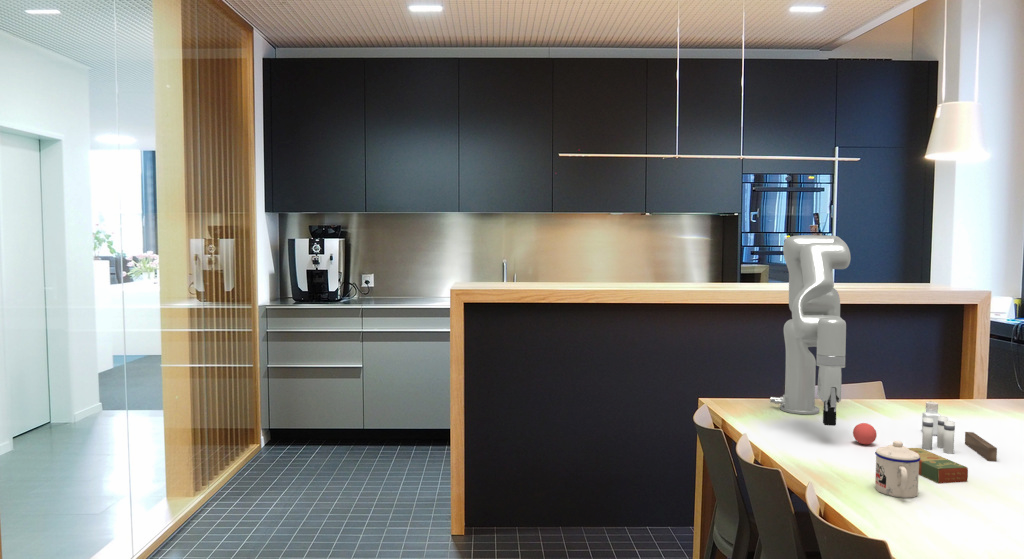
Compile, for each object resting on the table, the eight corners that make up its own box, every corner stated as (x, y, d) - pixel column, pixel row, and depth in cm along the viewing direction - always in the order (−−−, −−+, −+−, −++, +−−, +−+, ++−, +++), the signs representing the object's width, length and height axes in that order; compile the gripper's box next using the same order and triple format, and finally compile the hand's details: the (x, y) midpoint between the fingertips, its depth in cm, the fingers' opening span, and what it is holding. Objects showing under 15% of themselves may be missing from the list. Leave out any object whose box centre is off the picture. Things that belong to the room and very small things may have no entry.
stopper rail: (987, 460, 183) (988, 447, 183) (964, 443, 199) (965, 431, 199) (996, 461, 183) (997, 448, 183) (972, 444, 198) (973, 432, 198)
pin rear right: (944, 453, 190) (946, 422, 189) (941, 450, 192) (942, 420, 192) (955, 454, 189) (956, 423, 188) (951, 451, 191) (953, 421, 191)
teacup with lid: (870, 483, 166) (872, 434, 165) (913, 487, 163) (915, 438, 163) (881, 500, 154) (882, 449, 154) (927, 505, 152) (929, 452, 151)
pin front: (923, 449, 193) (924, 419, 193) (920, 446, 196) (921, 417, 195) (933, 450, 192) (934, 419, 192) (930, 447, 195) (931, 417, 194)
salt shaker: (940, 436, 207) (942, 404, 206) (926, 435, 207) (927, 404, 207) (935, 432, 210) (936, 401, 210) (921, 431, 211) (922, 401, 211)
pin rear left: (938, 448, 194) (939, 418, 194) (935, 445, 197) (936, 416, 196) (948, 448, 194) (949, 418, 193) (945, 446, 196) (946, 416, 196)
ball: (855, 446, 196) (855, 425, 196) (850, 440, 202) (851, 420, 201) (878, 448, 194) (879, 426, 194) (873, 442, 200) (873, 421, 200)
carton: (919, 462, 183) (920, 446, 183) (968, 483, 167) (969, 466, 167) (891, 463, 182) (891, 447, 181) (937, 485, 166) (938, 467, 166)
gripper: (812, 357, 207) (811, 418, 208) (821, 364, 193) (819, 430, 193) (839, 358, 205) (838, 419, 206) (850, 365, 191) (849, 431, 191)
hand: (829, 424), depth 199 cm, fingers closed
